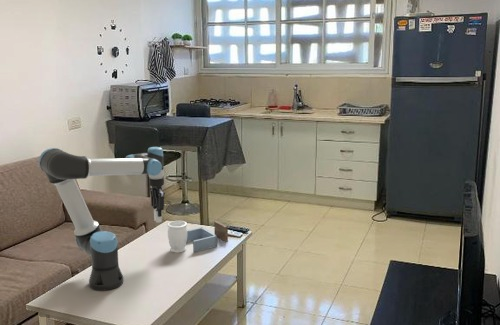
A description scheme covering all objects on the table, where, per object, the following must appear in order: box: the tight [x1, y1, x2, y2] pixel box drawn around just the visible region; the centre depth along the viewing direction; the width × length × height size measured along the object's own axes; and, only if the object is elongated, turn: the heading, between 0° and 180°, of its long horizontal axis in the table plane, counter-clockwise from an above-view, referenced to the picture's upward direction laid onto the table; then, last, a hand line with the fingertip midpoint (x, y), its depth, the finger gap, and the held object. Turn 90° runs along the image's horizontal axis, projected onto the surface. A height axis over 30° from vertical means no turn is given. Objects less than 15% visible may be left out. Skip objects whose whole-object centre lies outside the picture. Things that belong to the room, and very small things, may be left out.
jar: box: [167, 220, 188, 254], centre depth 260 cm, size 11×10×15 cm
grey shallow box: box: [187, 226, 218, 253], centre depth 268 cm, size 14×16×6 cm
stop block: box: [213, 220, 229, 243], centre depth 277 cm, size 2×11×9 cm, turn 35°
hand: (158, 221), depth 252 cm, fingers open, 2 cm apart
